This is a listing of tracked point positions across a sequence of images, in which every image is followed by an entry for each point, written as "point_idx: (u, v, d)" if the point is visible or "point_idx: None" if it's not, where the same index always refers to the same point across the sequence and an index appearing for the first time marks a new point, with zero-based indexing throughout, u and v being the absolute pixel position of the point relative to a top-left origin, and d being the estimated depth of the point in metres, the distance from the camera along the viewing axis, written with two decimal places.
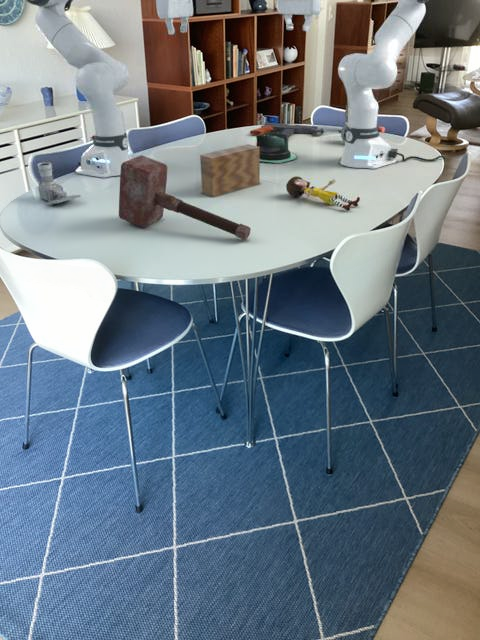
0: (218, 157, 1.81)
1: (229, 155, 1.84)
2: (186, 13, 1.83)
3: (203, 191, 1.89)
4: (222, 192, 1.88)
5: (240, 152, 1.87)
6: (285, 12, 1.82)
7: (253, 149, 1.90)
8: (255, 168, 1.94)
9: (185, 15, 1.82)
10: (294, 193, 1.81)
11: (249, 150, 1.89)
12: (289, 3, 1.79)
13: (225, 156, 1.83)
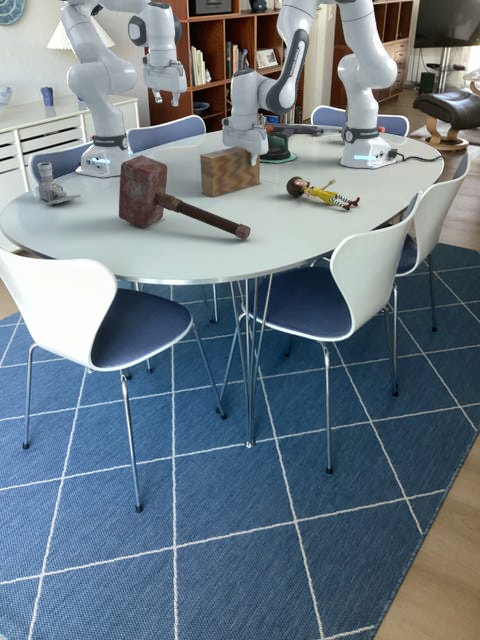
0: (218, 157, 1.81)
1: (229, 155, 1.84)
2: (168, 88, 1.81)
3: (203, 191, 1.89)
4: (222, 192, 1.88)
5: (240, 152, 1.87)
6: (232, 146, 1.94)
7: None
8: (255, 168, 1.94)
9: (166, 89, 1.81)
10: (294, 193, 1.81)
11: None
12: (235, 140, 1.91)
13: (225, 156, 1.83)
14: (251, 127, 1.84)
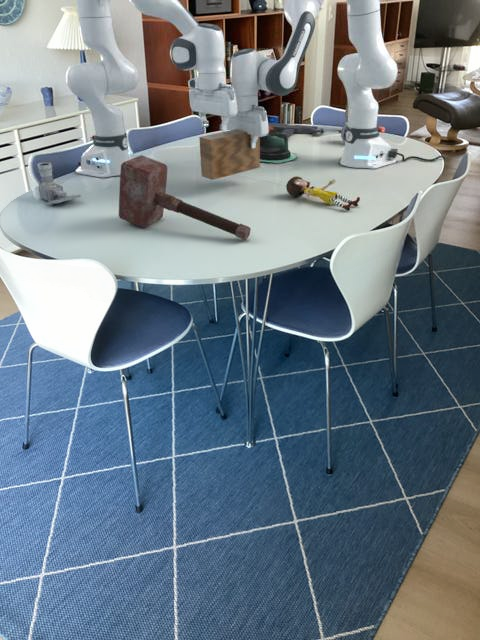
0: (218, 139, 1.79)
1: (229, 137, 1.81)
2: (216, 112, 1.73)
3: (202, 174, 1.86)
4: (222, 175, 1.85)
5: (240, 134, 1.84)
6: (231, 129, 1.91)
7: None
8: (256, 151, 1.91)
9: (215, 113, 1.74)
10: (294, 193, 1.81)
11: None
12: (235, 122, 1.88)
13: (225, 138, 1.80)
14: (251, 108, 1.81)
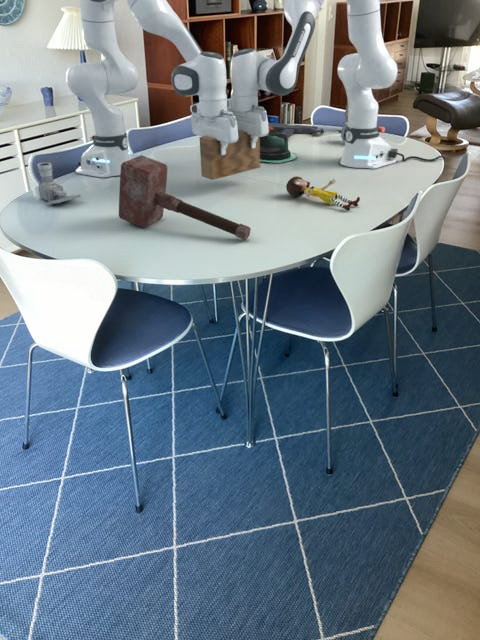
0: None
1: None
2: (218, 138, 1.77)
3: (203, 174, 1.86)
4: (222, 175, 1.85)
5: (240, 134, 1.84)
6: None
7: None
8: (256, 151, 1.91)
9: None
10: (294, 193, 1.81)
11: None
12: None
13: None
14: (251, 109, 1.81)
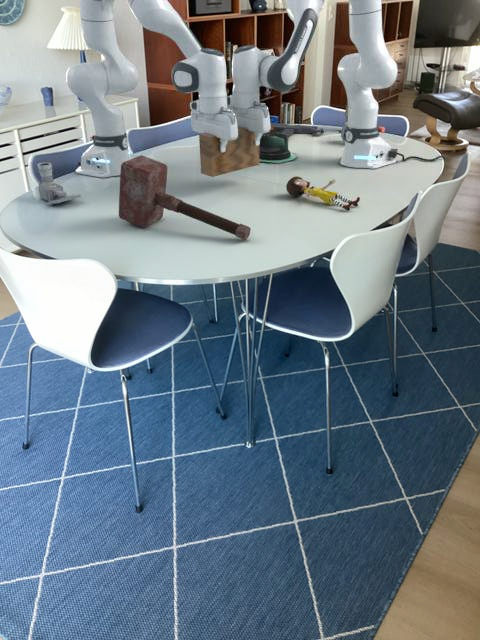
0: None
1: None
2: (217, 135, 1.77)
3: (202, 171, 1.86)
4: (221, 172, 1.85)
5: (240, 131, 1.84)
6: None
7: None
8: (255, 148, 1.91)
9: (216, 136, 1.78)
10: (294, 193, 1.81)
11: None
12: (237, 119, 1.88)
13: None
14: (253, 105, 1.81)
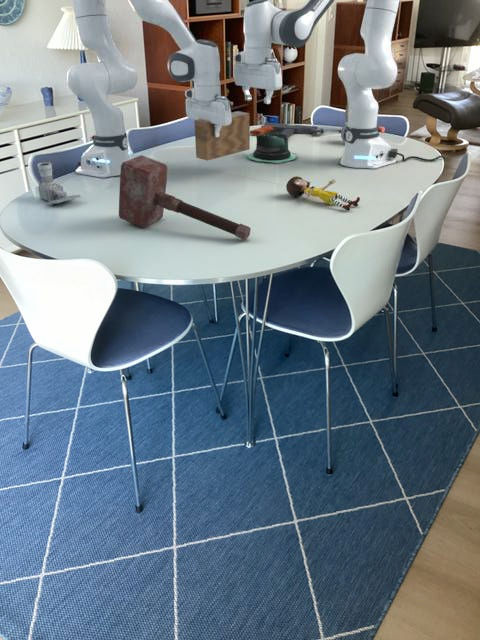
0: None
1: None
2: (212, 121, 1.89)
3: (197, 155, 1.98)
4: (215, 156, 1.98)
5: (232, 118, 1.97)
6: (244, 84, 1.87)
7: (244, 115, 2.00)
8: (246, 134, 2.04)
9: None
10: (294, 193, 1.81)
11: (240, 116, 1.99)
12: (248, 77, 1.84)
13: None
14: (264, 61, 1.78)
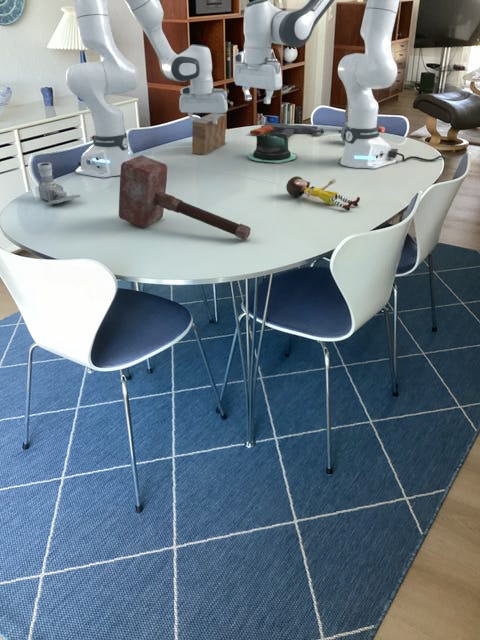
0: (208, 122, 2.31)
1: None
2: (211, 111, 2.27)
3: (193, 151, 2.37)
4: (208, 151, 2.38)
5: (218, 118, 2.39)
6: (244, 84, 1.87)
7: (223, 116, 2.43)
8: (223, 131, 2.48)
9: (209, 112, 2.28)
10: (294, 193, 1.81)
11: (222, 117, 2.42)
12: (248, 77, 1.84)
13: (211, 122, 2.34)
14: (264, 61, 1.78)
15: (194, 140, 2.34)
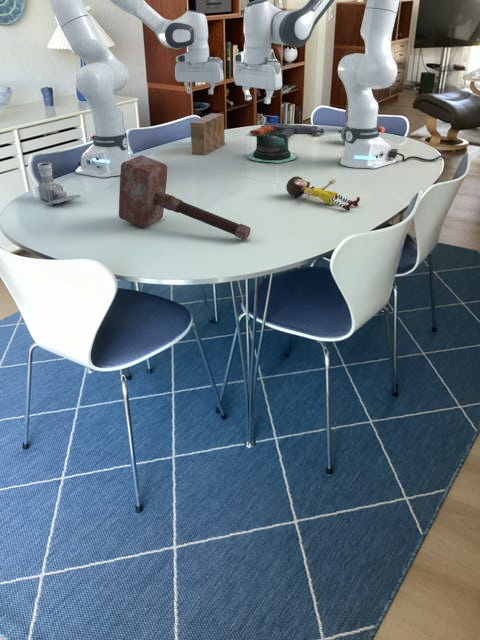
0: (206, 122, 2.31)
1: (211, 121, 2.35)
2: (206, 80, 2.23)
3: (193, 152, 2.37)
4: (208, 151, 2.38)
5: (215, 118, 2.39)
6: (244, 84, 1.87)
7: (221, 116, 2.44)
8: (222, 131, 2.48)
9: (204, 81, 2.23)
10: (294, 193, 1.81)
11: (219, 116, 2.42)
12: (248, 77, 1.84)
13: (209, 121, 2.34)
14: (264, 61, 1.78)
15: (193, 141, 2.34)
